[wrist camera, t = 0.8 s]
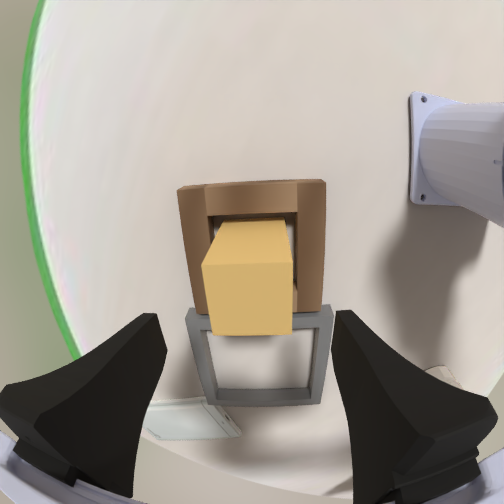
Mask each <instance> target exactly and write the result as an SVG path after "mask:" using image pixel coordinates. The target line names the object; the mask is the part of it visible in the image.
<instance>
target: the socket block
mask: <svg viewBox="0 0 504 504" xmlns="http://www.w3.org/2000/svg"><path fill="white" fill-rule="evenodd" d="M177 196H178V204H179V212H180V219H181V226H182V233H183V240H184V246H185V252H186V258H187V265H188V270H189V276H190V282H191V287H192V293H193V298H194V303H195V308H196V314H209V311H208V305H207V299H206V293H205V287H204V280H203V274H202V267H201V264H202V262H203V260H204V258H205V256H206V254H207V252H208V250H209V248H210V246H211V244H212V242H213V240H214V238H215V236H214V227H213V217H212V216H214V215H232V214H253V213H277V212H295V231H296V275H295V281H293V304H292V312H311V311H321V304H322V291H323V275H324V256H325V228H326V182H324V181H323V180H322V179H300V180H268V181H247V182H230V183H216V184H204V185H192V186H183V187H182V188H180V189H178V190H177Z"/></svg>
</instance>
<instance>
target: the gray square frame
mask: <svg viewBox="0 0 504 504" xmlns="http://www.w3.org/2000/svg"><path fill="white" fill-rule="evenodd" d="M333 318H334V315H333V312H332V309H331V306H330V304H329V305H321V311H311V312H292V329H297V328H316V331H315V342H314V352H313V362H312V370H311V379H310V387H309V388H292V389H218V385H217V380H216V376H215V371H214V367H213V362H212V358H211V353H210V348H209V343H208V338H207V333H206V330H212V328H211V322H210V317H209V314H196V308H189V311H188V313H187V315H186V318H185V321H186V326H187V330H188V334H189V338H190V342H191V346H192V350H193V354H194V358H195V361H196V365H197V369H198V372H199V376H200V380H201V383H202V387H203V390H204V393H205V397H206V400H207V403H208V405H216V406H242V407H272V406H298V405H313V404H320V402H321V396H322V391H323V386H324V380H325V374H326V368H327V362H328V355H329V349H330V342H331V334H332V326H333Z"/></svg>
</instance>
